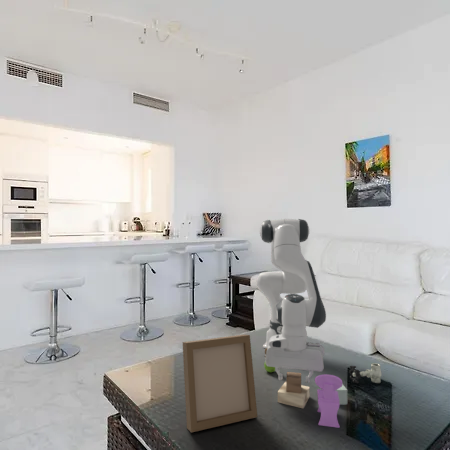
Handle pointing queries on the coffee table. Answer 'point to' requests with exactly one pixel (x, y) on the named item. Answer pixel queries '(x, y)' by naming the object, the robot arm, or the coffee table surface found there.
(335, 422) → the toy chair
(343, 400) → the grey-green cube
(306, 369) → the robot arm
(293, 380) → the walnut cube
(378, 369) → the valve
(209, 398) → the photo frame
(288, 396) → the beech block
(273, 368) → the snail figurine
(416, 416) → the coffee table surface
